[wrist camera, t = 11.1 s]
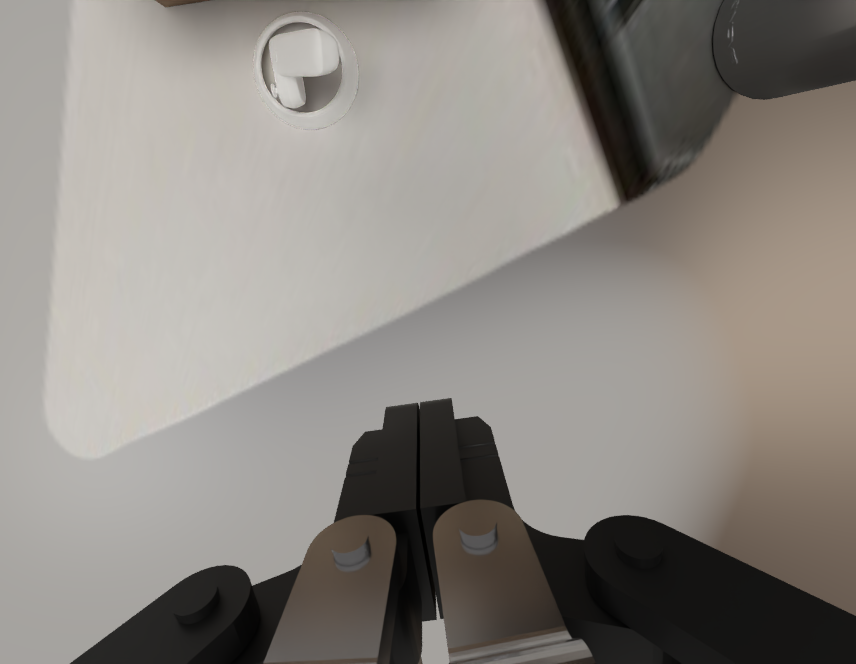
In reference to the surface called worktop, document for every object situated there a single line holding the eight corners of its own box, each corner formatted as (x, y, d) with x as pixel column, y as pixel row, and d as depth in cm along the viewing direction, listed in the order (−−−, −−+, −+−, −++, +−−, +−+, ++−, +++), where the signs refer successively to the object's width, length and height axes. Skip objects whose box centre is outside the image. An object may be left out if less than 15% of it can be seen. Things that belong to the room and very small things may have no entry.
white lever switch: (426, 125, 30) (331, 146, 27) (340, 120, 39) (260, 135, 35) (412, -16, 26) (299, -13, 23) (320, 12, 35) (228, 18, 31)
